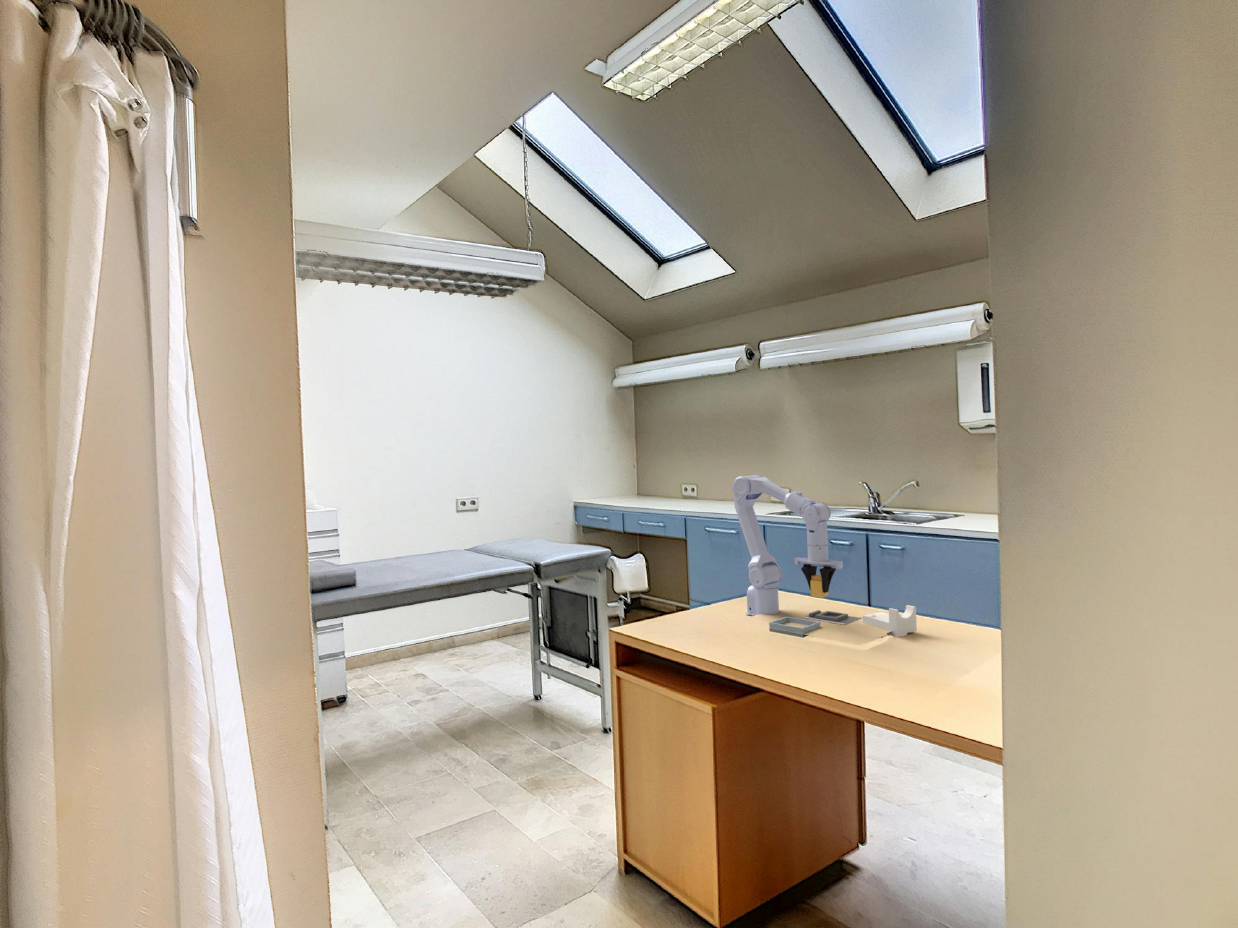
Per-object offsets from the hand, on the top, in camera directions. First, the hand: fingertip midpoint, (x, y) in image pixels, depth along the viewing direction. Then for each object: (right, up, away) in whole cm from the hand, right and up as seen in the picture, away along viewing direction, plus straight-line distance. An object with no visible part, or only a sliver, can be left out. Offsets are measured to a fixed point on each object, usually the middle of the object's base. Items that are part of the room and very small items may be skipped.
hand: (819, 591), depth 207 cm
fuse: (0, -2, 0) cm, 2 cm away
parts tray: (-8, -10, -5) cm, 14 cm away
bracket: (+17, -10, -8) cm, 22 cm away
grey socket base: (+5, -10, +3) cm, 11 cm away
